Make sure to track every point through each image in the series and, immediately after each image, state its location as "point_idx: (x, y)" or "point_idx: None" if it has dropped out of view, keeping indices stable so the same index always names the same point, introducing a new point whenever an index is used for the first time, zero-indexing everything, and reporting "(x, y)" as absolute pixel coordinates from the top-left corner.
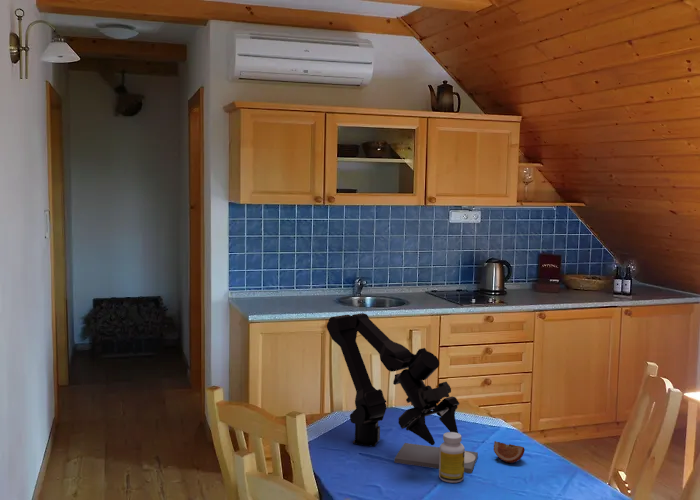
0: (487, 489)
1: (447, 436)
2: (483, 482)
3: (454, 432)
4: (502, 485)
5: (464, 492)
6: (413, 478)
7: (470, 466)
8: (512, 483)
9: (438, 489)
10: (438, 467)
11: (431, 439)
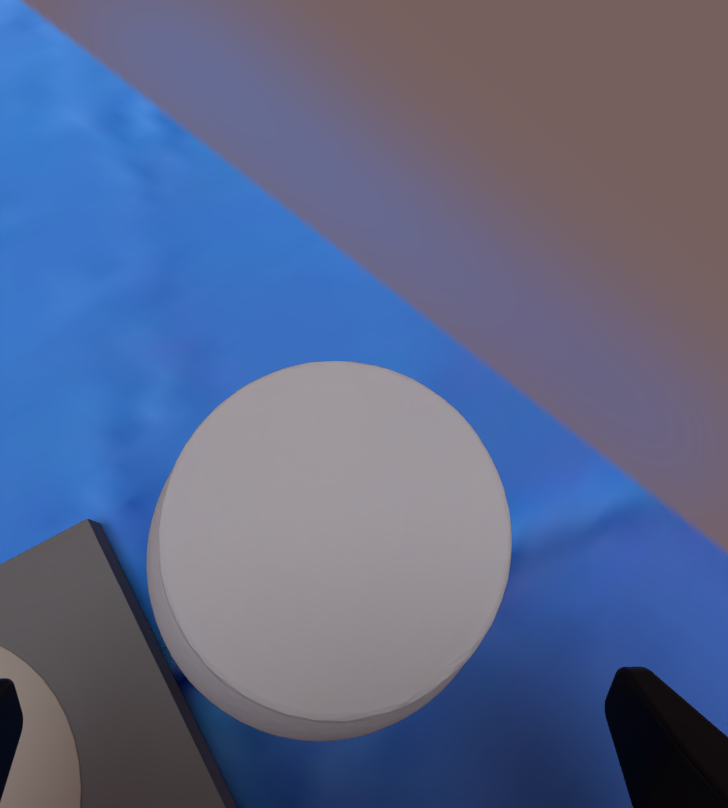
0: (263, 278)
1: (473, 535)
2: (184, 358)
3: (183, 600)
4: (128, 247)
5: (422, 350)
6: (566, 787)
7: (44, 560)
8: (46, 220)
9: (536, 497)
10: (233, 804)
11: (709, 725)
